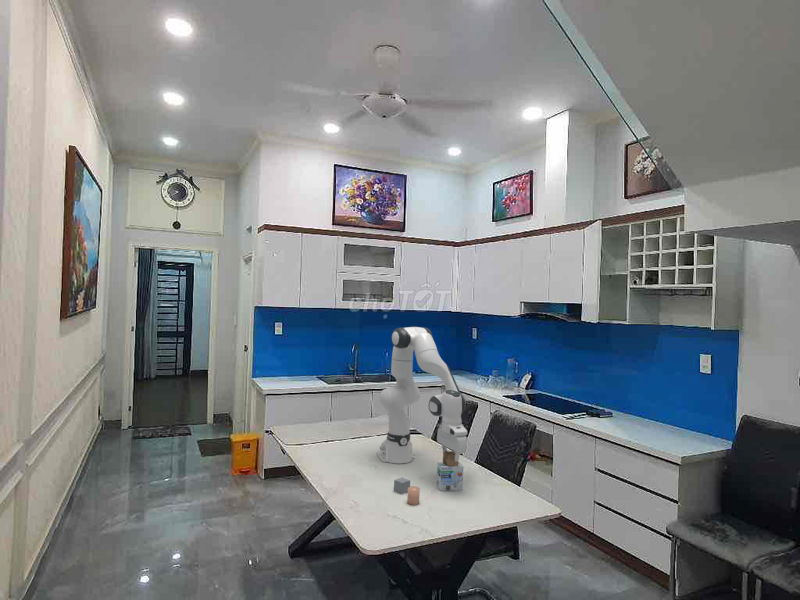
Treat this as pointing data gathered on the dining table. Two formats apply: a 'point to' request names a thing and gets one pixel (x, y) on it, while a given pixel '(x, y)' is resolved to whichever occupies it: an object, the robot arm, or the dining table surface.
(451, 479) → the light bulb box
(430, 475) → the dining table surface
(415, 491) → the cylinder
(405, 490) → the slate cube
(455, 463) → the walnut cube
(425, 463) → the dining table surface
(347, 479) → the dining table surface
